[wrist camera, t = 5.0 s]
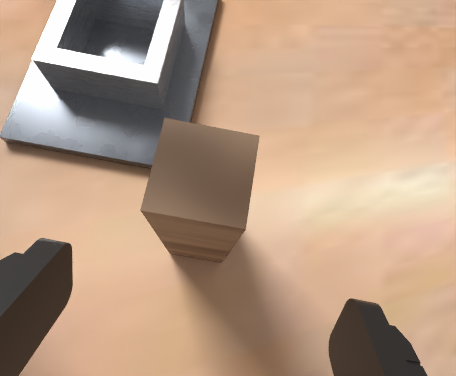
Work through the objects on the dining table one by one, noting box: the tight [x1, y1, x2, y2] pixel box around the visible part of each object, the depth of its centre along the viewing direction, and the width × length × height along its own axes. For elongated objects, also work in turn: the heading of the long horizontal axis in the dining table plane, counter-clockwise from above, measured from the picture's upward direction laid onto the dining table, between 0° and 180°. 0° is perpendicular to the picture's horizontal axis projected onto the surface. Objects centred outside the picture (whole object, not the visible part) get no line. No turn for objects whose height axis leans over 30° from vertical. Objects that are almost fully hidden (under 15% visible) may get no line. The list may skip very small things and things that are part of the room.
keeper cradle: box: [0, 0, 219, 169], centre depth 31 cm, size 22×16×5 cm
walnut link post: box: [141, 118, 259, 262], centre depth 22 cm, size 4×4×15 cm
